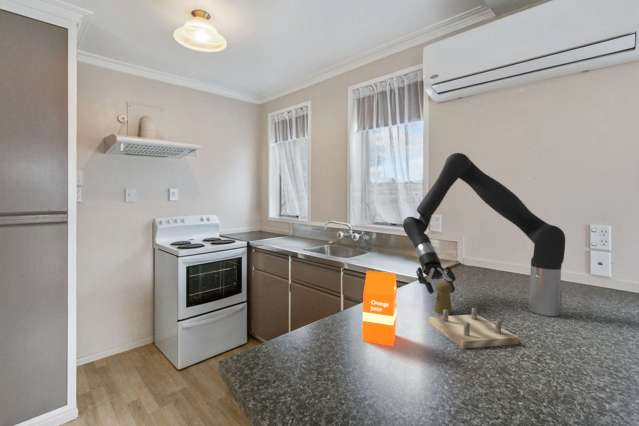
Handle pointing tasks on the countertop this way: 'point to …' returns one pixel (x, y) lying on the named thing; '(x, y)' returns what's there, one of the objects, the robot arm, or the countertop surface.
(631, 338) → the countertop surface
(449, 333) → the peg board
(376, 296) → the orange juice
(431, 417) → the countertop surface
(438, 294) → the cork
